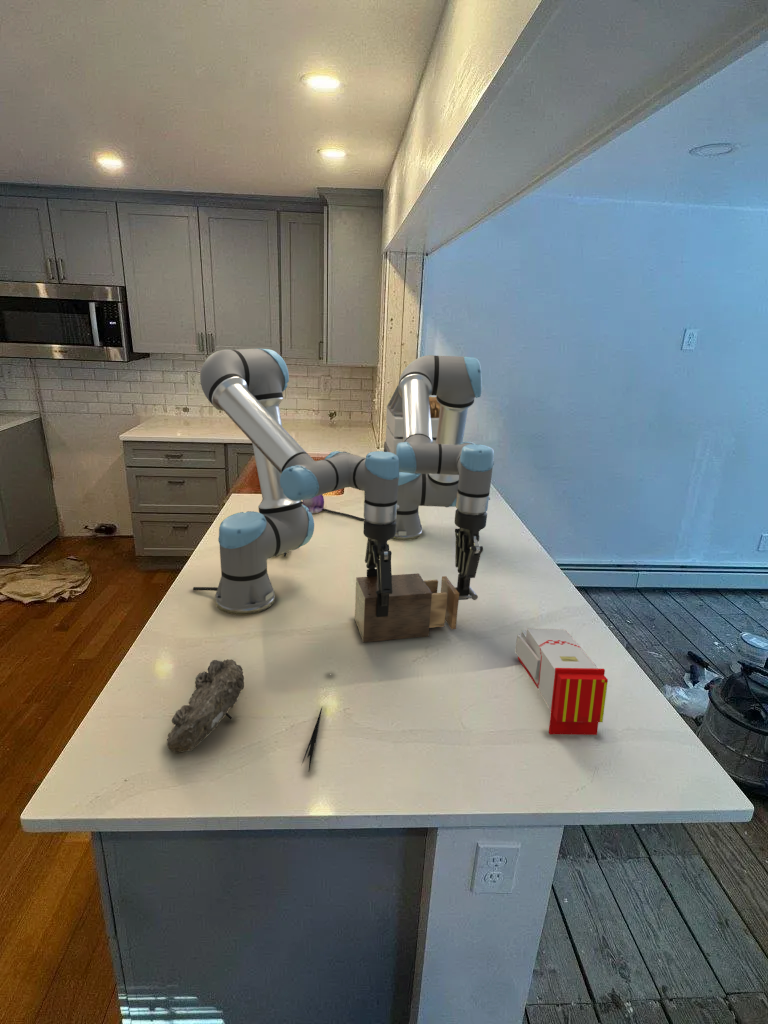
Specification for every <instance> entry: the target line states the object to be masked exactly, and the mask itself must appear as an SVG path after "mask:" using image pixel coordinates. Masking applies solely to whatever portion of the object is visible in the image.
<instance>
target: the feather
mask: <svg viewBox="0 0 768 1024" xmlns="http://www.w3.org/2000/svg"><path fill="white" fill-rule="evenodd" d="M329 675H330V676H331V675H332V674H331V673H330V674H329ZM322 710H323V707H321V708H320V710H319V713H318V716H317V719H316V723H315V725H314V728H313V731H312V733H311V737H310V739H309V742H308V745H307V748H306V751H305V754H304V757H303V760H302V763H301V767H302V765H303V763H304V761H305V758H308V759H309V760H308V762H307V763H308V764H307V766H308V771H310V770H311V766H312V765H311V764H312V760H313V757H315V756H314V755H315V751H316V749H315V746H317V739H318V733H319V729H320V722H321V717H322V712H323V711H322ZM313 754H314V755H313ZM306 755H307V757H306Z"/></svg>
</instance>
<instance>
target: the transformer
mask: <svg viewBox="0 0 768 1024" xmlns="http://www.w3.org/2000/svg"><path fill="white" fill-rule="evenodd" d="M429 404H430V417H431V429H432V442H433V444H436V438H437V430H438V422H439V413H440V404H439V403H438V402H437V400H436V396H429ZM385 414H386V415H385V423H386V428H385V438H384V442H383V452H391V453H394V454H395V455H396V446H397V444H398V443H401V442H403V410H402V398H401V396H400V394H399V388H398V385H397V386H396V388H395V390H394V392H393V394H392V395H391V398H390V400H389V402H388V404H387V405H386V413H385Z"/></svg>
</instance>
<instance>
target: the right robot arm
mask: <svg viewBox="0 0 768 1024" xmlns="http://www.w3.org/2000/svg"><path fill="white" fill-rule="evenodd" d="M482 377H483V376H482V367H481V362H480V360H479V359H478V358H477V357H472V356H465V355H463V356H459V355H457V356H456V355H455V356H454V355H434V354H427V355H423V356H420V357H418V358H416V359H414V360H413V361H411V362H410V363H409V364H408V365H407V366H406V367H405V368H404V369H403V371H402V372H401V374H400V377H399V380H398V385H397V386H398V388H399V394H400V396H401V398H402V410H403V442H401V443H398V444H397V446H396V455H397V456H398V459H399V481H398V492H397V505H399V509H397V510H396V512H397V514H396V519H395V521H396V535H395V536H394V537H393V538H392V539H391V540H395V541H410V540H415V539H418V538H420V537H421V536H422V535H423V525H422V524H421V518H420V515H419V507H438V508H456V509H455V512H454V525H455V526H456V528H454V535H455V555H454V557H455V561H454V564H455V565H454V566H455V568H457V573H458V574H457V575H458V576H457V582H456V583H457V585H456V587H457V591H458V592H459V596H468V595H469V587H471V579H475V578H476V575H477V571H478V567H479V563H480V558H481V555H482V553H483V551H484V546H483V545H480V543H479V542H480V531H482V530H483V529H485V528H486V526H487V521H488V513H487V511H488V508H489V502H490V500H491V497H490V492H491V485H492V475H493V468H494V465H495V461H494V458H495V451H494V448H492V447H491V446H488V445H485V444H480V443H478V444H477V443H474V442H471V441H464V437H465V430H466V424H467V416H468V410H469V408H470V407H472V406H473V405H474V404H475V399H478V398H480V397H481V395H482V392H483V391H482V390H483V378H482ZM431 396H434V397H436V400H437V402H438V403H439V404H440V413H439V422H438V430H437V438H436V444H433V442H432V429H431V417H430V404H429V397H431ZM301 503H302V505H303V500H301ZM321 512H326V513H330V514H334V515H339V516H344V517H348V518H352V519H355V520H358V521H362V522H364V520H365V518H364V517H359V516H356V515H353V514H349V513H345V512H340V511H335V510H331V509H328V508H323V509H322V511H321ZM465 600H467V599H459V601H465Z"/></svg>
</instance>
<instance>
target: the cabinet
mask: <svg viewBox="0 0 768 1024" xmlns="http://www.w3.org/2000/svg"><path fill="white" fill-rule="evenodd" d="M375 591H378V579H377V576H372V577H367V576H357V577H355V597H354V598H355V599H354V600H355V602H354V621H355V623H356V626H357V629H358V631H359V634H360V638H361V640H362V643H371V642H372V643H373V642H382V641H392V640H404V639H413V638H414V639H415V638H424V637H425V638H427V637H429V634H430V633H429V632H430V628H429V623H430V611H431V599H432V592H431V591H430V589H429V588H428V586H427V585H426V583H425V582H424V579H423V577H422V576H421V574H420V573H417V572H416V573H403V574H392V594H389V607H388V616H387V617H376V606H377V594H376V592H375Z"/></svg>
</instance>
